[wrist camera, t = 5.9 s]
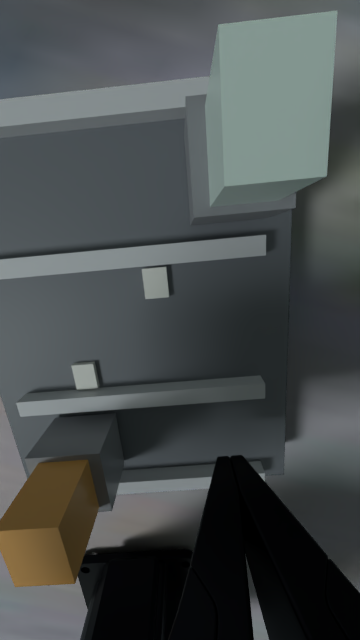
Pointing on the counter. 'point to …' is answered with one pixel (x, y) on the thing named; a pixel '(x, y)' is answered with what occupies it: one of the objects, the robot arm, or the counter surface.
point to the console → (136, 290)
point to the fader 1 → (61, 499)
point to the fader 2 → (261, 118)
